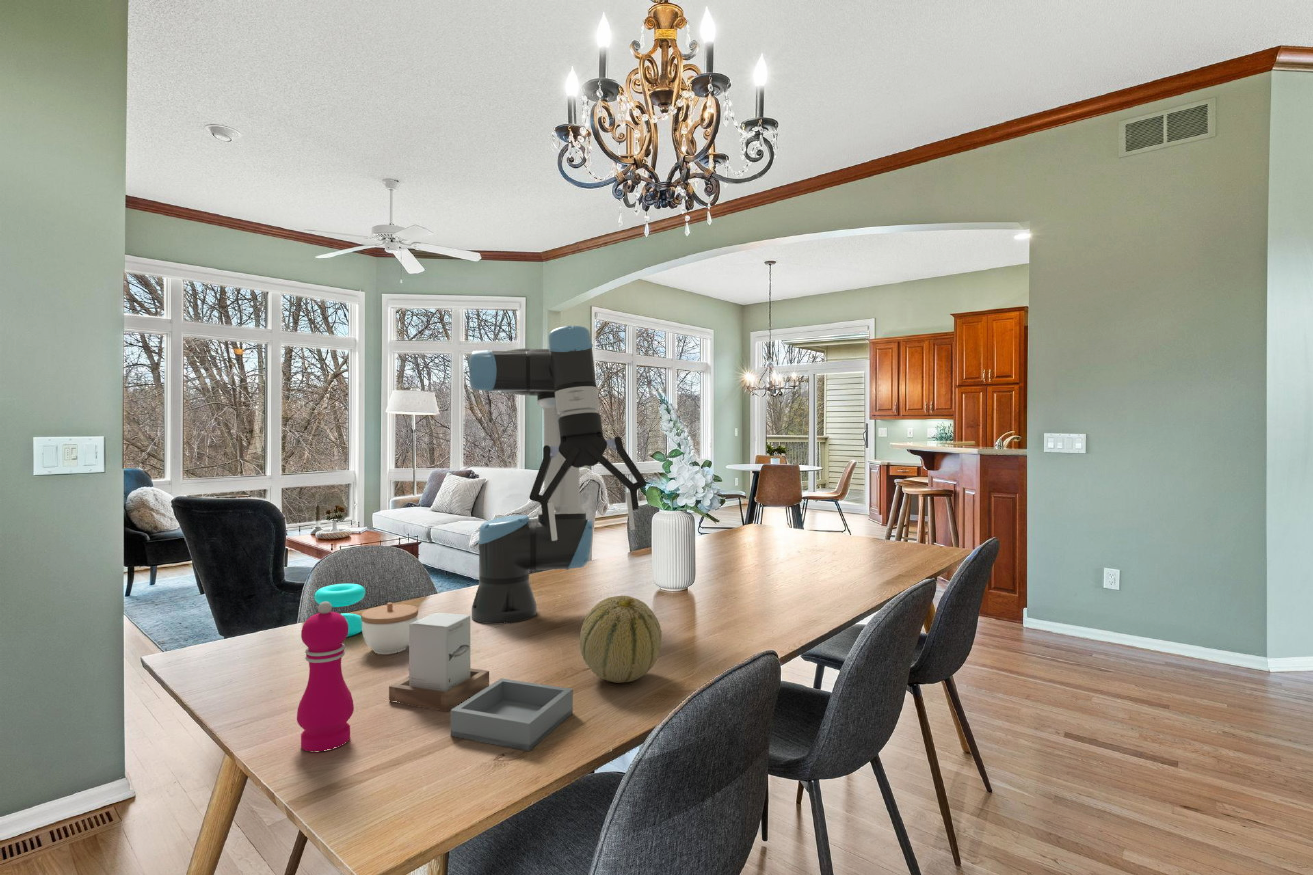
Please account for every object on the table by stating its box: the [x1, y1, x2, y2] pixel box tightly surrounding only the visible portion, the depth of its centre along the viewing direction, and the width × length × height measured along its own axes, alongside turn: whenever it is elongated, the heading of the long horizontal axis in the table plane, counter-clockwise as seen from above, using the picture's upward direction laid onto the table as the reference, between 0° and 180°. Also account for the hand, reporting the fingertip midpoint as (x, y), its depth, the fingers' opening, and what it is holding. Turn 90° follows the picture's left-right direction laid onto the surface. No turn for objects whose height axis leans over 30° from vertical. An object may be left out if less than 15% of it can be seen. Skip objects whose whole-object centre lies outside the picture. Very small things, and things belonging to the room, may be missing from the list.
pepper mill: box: [296, 602, 355, 752], centre depth 94 cm, size 7×7×20 cm
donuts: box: [314, 583, 366, 638], centre depth 144 cm, size 10×10×10 cm
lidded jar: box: [360, 602, 419, 655], centre depth 134 cm, size 11×11×9 cm
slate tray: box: [450, 677, 574, 752], centre depth 100 cm, size 13×13×4 cm
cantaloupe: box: [579, 595, 663, 684], centre depth 117 cm, size 15×15×15 cm
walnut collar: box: [388, 667, 490, 713], centre depth 111 cm, size 11×11×2 cm
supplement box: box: [408, 612, 471, 692], centre depth 111 cm, size 7×7×13 cm
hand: (593, 534), depth 115 cm, fingers open, 13 cm apart
